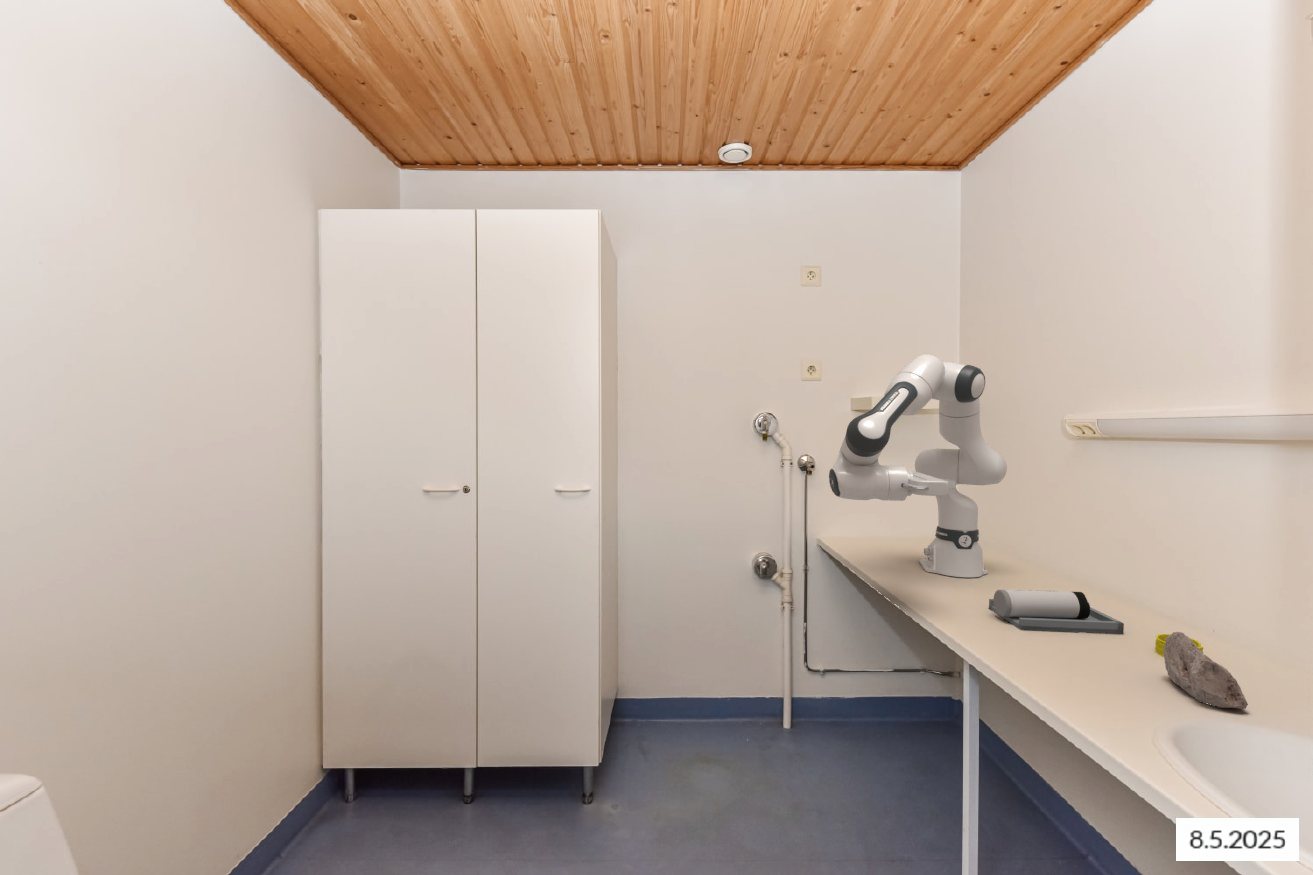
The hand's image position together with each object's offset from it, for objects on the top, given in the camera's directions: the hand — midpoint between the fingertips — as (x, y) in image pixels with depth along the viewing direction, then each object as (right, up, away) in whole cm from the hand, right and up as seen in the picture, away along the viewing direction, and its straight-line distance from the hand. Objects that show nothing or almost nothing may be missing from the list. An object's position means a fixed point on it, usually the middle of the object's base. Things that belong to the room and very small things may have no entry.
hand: (953, 483), depth 152 cm
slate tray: (+21, -32, -7) cm, 39 cm away
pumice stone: (+21, -34, -45) cm, 60 cm away
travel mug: (+8, -28, -7) cm, 30 cm away
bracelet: (+33, -33, -28) cm, 54 cm away
